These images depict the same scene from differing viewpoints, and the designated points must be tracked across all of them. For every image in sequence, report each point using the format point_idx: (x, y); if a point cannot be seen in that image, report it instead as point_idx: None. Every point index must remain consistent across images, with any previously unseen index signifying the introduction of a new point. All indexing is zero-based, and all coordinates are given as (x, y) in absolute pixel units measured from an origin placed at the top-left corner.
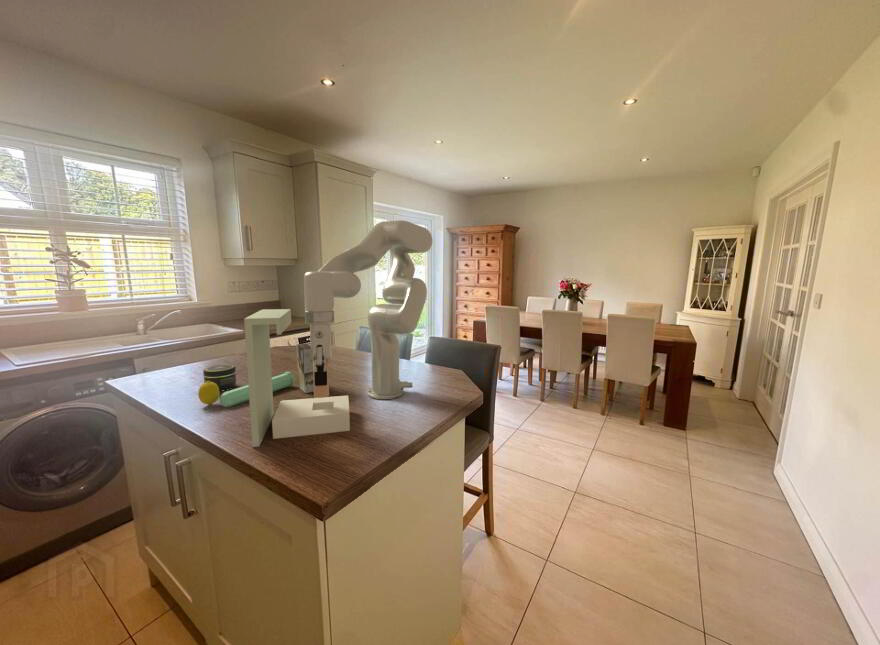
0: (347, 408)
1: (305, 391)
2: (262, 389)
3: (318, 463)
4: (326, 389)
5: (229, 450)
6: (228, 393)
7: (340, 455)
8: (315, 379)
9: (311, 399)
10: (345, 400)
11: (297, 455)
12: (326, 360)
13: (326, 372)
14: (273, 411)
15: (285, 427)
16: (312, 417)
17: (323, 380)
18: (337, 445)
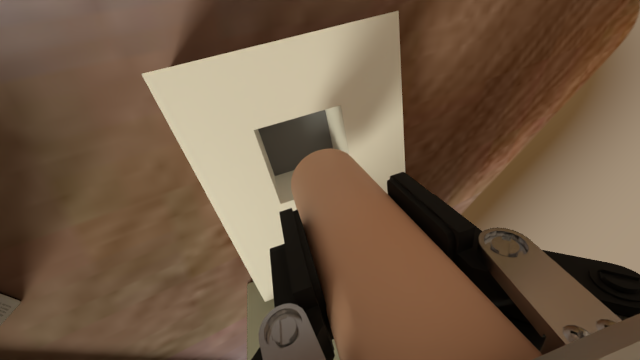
0: (343, 33)
1: (15, 307)
2: None
3: (517, 72)
4: (360, 167)
5: None
6: None
7: (504, 20)
8: None
9: (240, 226)
10: (231, 71)
11: (468, 134)
12: (519, 342)
13: (462, 221)
14: (250, 291)
15: None
16: (402, 156)
17: (441, 200)
18: (450, 44)
